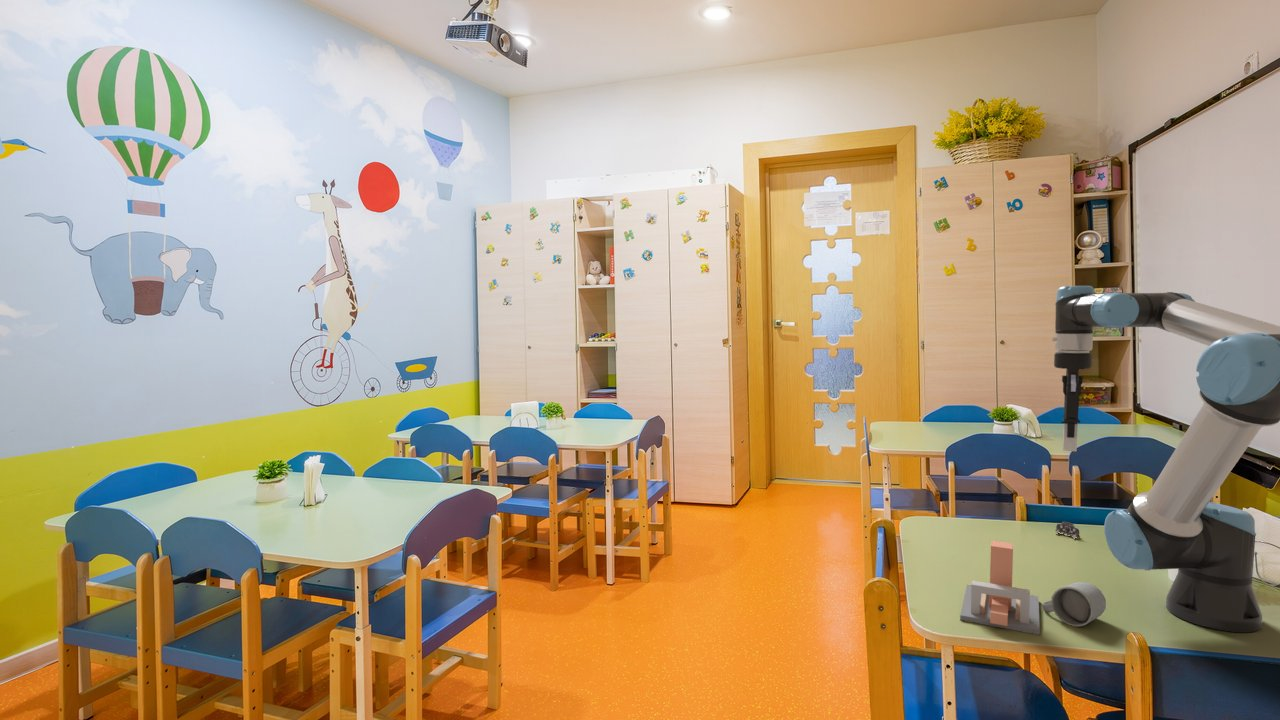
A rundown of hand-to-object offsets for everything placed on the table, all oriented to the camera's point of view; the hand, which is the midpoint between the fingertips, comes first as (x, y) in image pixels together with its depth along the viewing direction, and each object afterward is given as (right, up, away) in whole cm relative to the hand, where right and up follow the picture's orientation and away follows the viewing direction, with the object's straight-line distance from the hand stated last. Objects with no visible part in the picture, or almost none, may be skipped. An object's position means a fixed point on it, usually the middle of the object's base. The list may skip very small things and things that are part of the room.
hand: (1069, 450), depth 165 cm
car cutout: (+19, -28, +24) cm, 42 cm away
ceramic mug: (-14, -32, -23) cm, 42 cm away
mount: (-27, -31, -20) cm, 45 cm away
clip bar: (-29, -30, -24) cm, 48 cm away
